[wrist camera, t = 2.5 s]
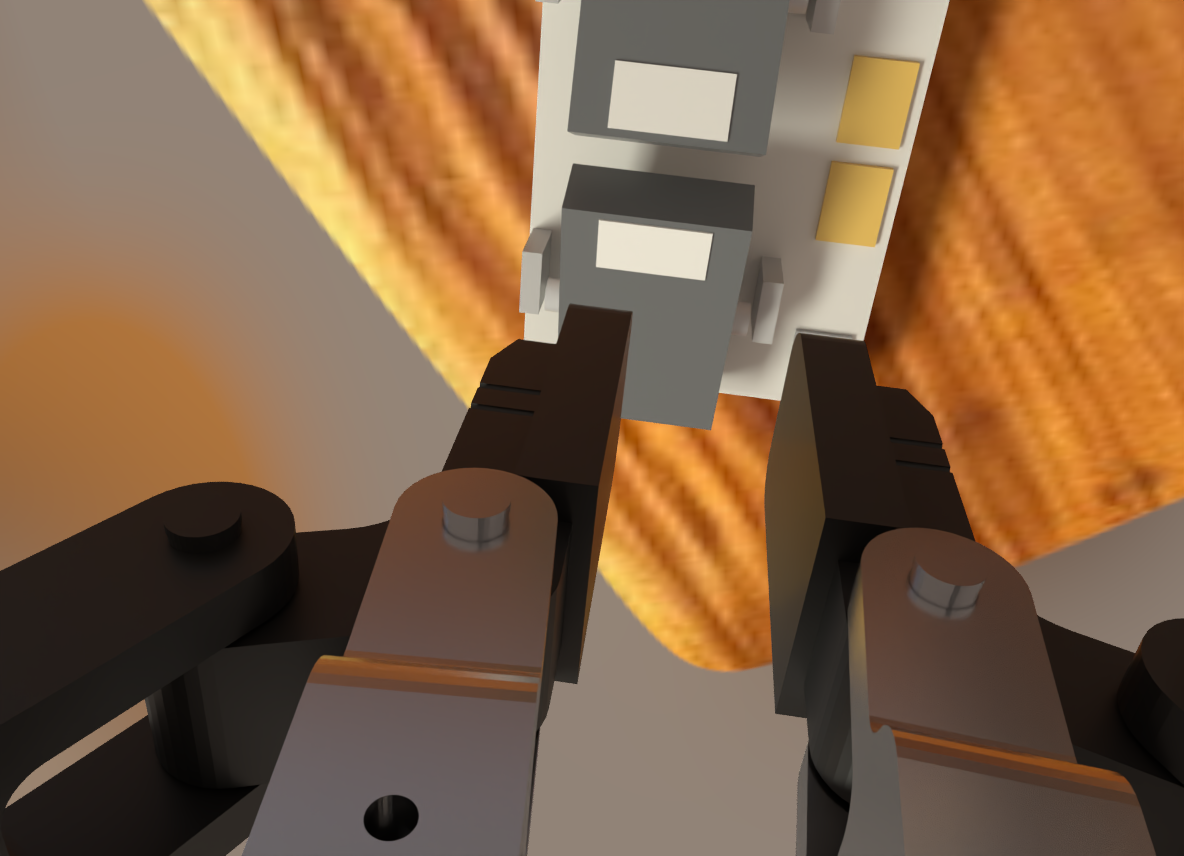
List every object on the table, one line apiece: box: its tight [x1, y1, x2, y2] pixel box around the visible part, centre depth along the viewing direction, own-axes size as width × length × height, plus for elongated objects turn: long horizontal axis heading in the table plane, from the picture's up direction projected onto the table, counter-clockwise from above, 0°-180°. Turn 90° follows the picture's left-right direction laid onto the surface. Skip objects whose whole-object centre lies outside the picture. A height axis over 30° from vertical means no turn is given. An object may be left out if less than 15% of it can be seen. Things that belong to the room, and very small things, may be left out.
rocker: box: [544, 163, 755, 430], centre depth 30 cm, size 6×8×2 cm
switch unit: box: [519, 0, 949, 401], centre depth 30 cm, size 11×17×5 cm, turn 175°
